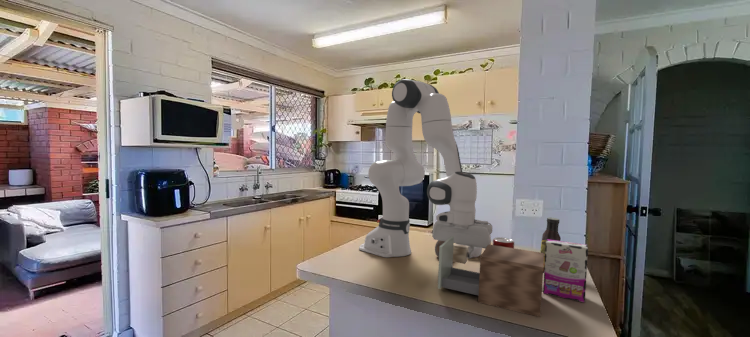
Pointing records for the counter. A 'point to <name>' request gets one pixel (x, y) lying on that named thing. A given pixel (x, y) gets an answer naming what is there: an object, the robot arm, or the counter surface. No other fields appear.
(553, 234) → the sauce bottle
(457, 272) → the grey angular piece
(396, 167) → the robot arm
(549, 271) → the candy bar box
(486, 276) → the tan box
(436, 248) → the vase
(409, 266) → the counter surface
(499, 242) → the soda can
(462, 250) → the block
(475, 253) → the ramekin
